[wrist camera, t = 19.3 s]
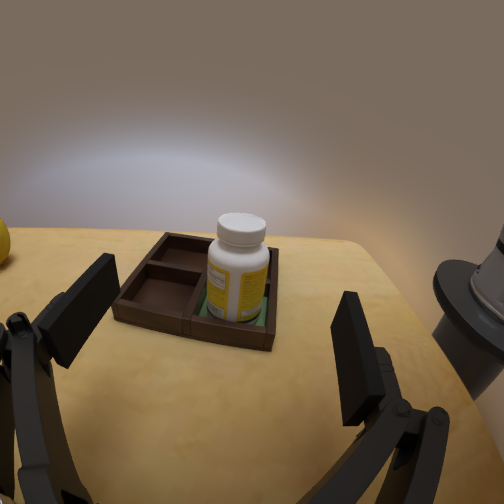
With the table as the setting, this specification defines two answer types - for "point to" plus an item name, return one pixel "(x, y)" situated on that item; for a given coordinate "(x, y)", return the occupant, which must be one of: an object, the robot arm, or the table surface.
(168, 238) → the compartment tray
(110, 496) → the table surface
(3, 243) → the lemon
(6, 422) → the robot arm
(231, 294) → the supplement bottle
